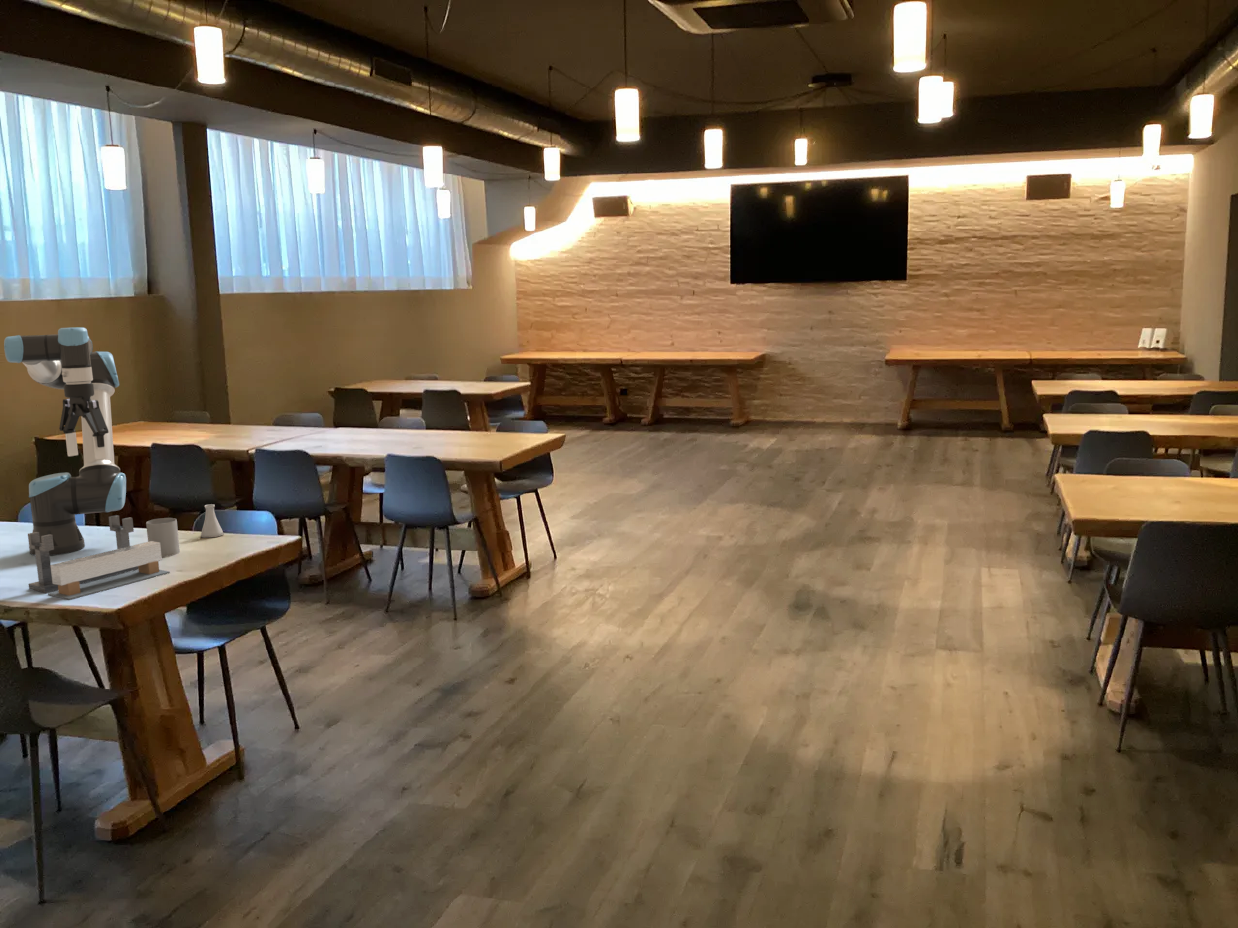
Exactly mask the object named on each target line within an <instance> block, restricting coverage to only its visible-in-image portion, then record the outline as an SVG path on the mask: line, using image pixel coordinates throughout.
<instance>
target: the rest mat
mask: <svg viewBox="0 0 1238 928" xmlns="http://www.w3.org/2000/svg"><path fill="white" fill-rule="evenodd" d="M167 573H168V574H171V572H170V571H167V570H164V569H160V566H159V561H156V562H152V563H148V564H144V565H140V566H138V569H137V570H134V571H130V572H126V573H122V574H118V575H114V576H110V577H106V578H103V579H99V580H95V581H91V582H87V583H83V584H79V581H77V582H74V583H70V584H66V585H62V586H61V585H58V590H56V591H52V592H49V593H47V595H48V596H52V597H55V598H60V599H63V600H68V601H71V600H74V599H78V598H82V597H85V596H88V595H89V594H90V595H93V594H96V592H97V593H100V591H101V592H104V591H103V590H105V591H109V590H111V589H115V588H119V587H123V586H127V585H130V584H134V583H137V582H140V581H145V580H148V579H152V578H156V576H157V577H160V576H164V575H166V574H167ZM163 574H164V575H163ZM168 574H167V575H168Z"/></svg>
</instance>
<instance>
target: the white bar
mask: <svg viewBox="0 0 1238 928" xmlns="http://www.w3.org/2000/svg"><path fill="white" fill-rule="evenodd" d="M162 558H163V557H162V556H161V546H160V542H154V541H150V542H148V541H146V542H142V543H138V544H133V545H130V546H128V547H124V548H120V549H117V548H116V549H111V550H107V551H104V552H99V553H96V554H91V555H87V556H82V557H79V558H75V559H70V560H66V561H61V562H57V563H53V564H51V574H52V582H53V584H56V585H61V586H62V585H66V584H70V583H74V582H77V581H81V580H85V579H89V578H93V577H97V576H101V575H105V574H109V573H113V572H117V571H120V570H124V569H128V568H132V567H136V566H140V565H144V564H148V563H152V562H156V561H158V562H159V561H162Z"/></svg>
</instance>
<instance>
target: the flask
mask: <svg viewBox="0 0 1238 928" xmlns="http://www.w3.org/2000/svg"><path fill="white" fill-rule="evenodd" d="M203 507H204V508H205V515H204V516H205V517H204V522H203V525H202V529H201V534H200V538H216V537H221V536H223V535H224V532H223V529H222V527H221V525H220V523H219V521H218V519H217V516H216V513H215V507H216V506H215V504H212V503H211V504H205V505H204V506H203Z"/></svg>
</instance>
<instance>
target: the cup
mask: <svg viewBox="0 0 1238 928" xmlns="http://www.w3.org/2000/svg"><path fill="white" fill-rule="evenodd" d="M145 525H146V535H147V536H146V537H147V542H150V541H154V542H160V546H161V556H162V558H164V557H170V556H175V555H177V554H179V553H180V552H181V551H180V542H179V541H180V539H179V530H178V529H179V528H178V521H177V518H173V517H164V518H154V519H151V520H148V521H146V523H145Z"/></svg>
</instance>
